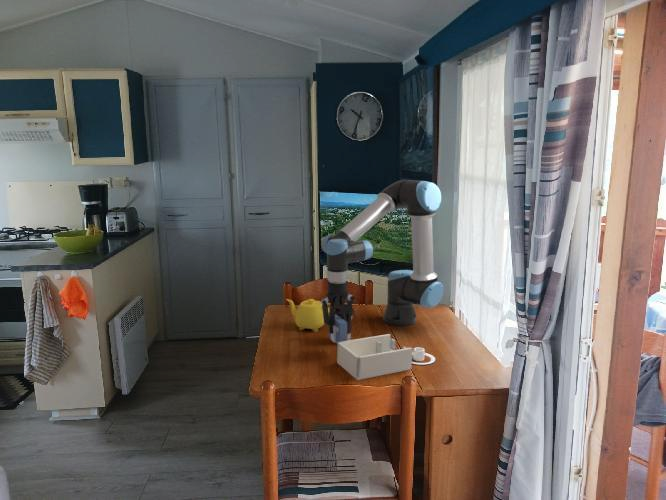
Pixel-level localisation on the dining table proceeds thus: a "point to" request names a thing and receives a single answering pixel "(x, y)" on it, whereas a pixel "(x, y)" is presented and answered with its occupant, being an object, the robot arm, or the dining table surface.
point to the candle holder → (421, 356)
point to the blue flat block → (340, 329)
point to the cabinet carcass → (373, 357)
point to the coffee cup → (349, 325)
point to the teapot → (308, 314)
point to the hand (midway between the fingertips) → (337, 340)
